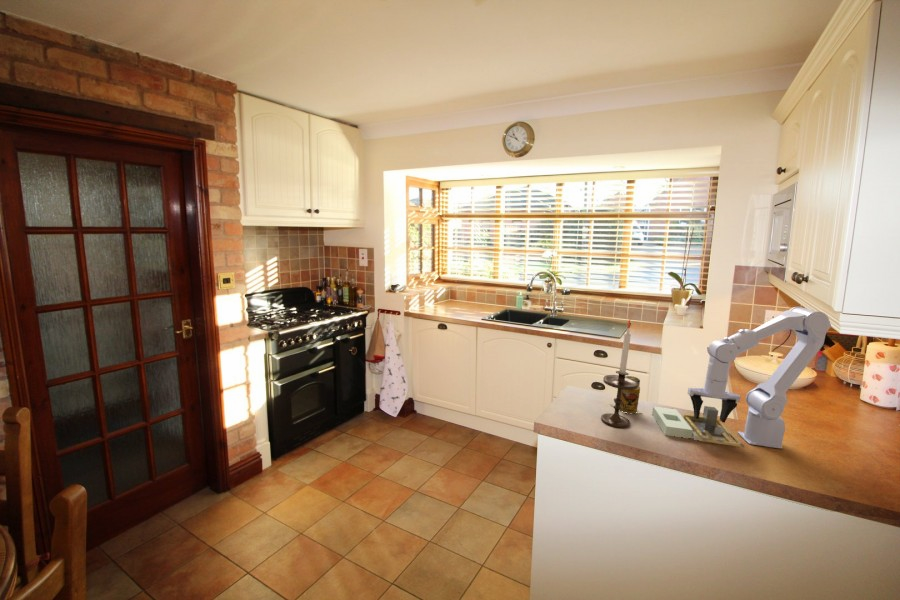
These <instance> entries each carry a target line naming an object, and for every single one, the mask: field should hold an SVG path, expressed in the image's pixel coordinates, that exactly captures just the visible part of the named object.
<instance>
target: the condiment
mask: <svg viewBox="0 0 900 600" xmlns="http://www.w3.org/2000/svg"><path fill="white" fill-rule="evenodd" d="M625 377H628V378H631V379H634V380H636V381H637V382H638V383H639V387H638V389H635V390H624V389H622V394H621V399H622V400H623V402H622V404H620V407H621V409H620V410H621V411H623V412H627V414H626V415H629V414H628V413H635V415H636V412H637V414H643V411H640V410H639V409H638V406H639V399H640V391H641V387H640V382H641V380H640V378H638V377H636V376H630V375H625ZM610 406H612V407H613V406H615V403H614V404H610ZM620 410H619V412H621V411H620ZM623 412H622V413H623ZM638 412H639V413H638Z"/></svg>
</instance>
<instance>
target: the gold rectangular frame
mask: <svg viewBox="0 0 900 600" xmlns="http://www.w3.org/2000/svg"><path fill="white" fill-rule="evenodd" d="M682 417H683V418H684V420H685V421H687V422H688V423H689V424H690V426H691V427H692V428H693V429H694V431H695V432H696V433H697V434H698V436H699V437H700V438H701V439H702V441H701V442H703V443H704V442H706V443H713V444H719V445H724V446H725V445H726V446H731V447H733V446H734V447H739V448H740V447H741V448H745V444H744V443H743V442H742V441H741V440H740V439H739V438H738V437H737V436H736V435H735V434H734V433H733V432H732V431H731V430H730V429H729V428H728V427H727V426H726V425H725V424H724V422H722V421H721V420H720V417H717V422H716V425H719V426H720V427H722V428H723V429H724V430H725V431H726V432H727V433H728V434H729V437H730V438H731V439H732V440H733V441H734V442H733V441H732V440H731V439H730V438H729V437H728V436H727V435H726V434H725V433H721V435H722V436H723V437H724V438H725V439H726V441H721V440H715V439H714V438H713V437H712V436H711V435H710V433H709V432H708V431H706V430H704V431H703V432H704V433H705V435H706V436H707V437H708V438H709V439H707V438H705V437H704V436H703V434H702V433H701V432H700V431H699V430H698V428H697V427H696V426H695V425H694V424H693V422H692V421H695V422H702V417H703V415H699V419H696V418H695V417H694V414H687V413H683V416H682Z"/></svg>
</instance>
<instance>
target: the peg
mask: <svg viewBox="0 0 900 600" xmlns="http://www.w3.org/2000/svg"><path fill="white" fill-rule="evenodd" d="M718 415H719V410H718V409H717V408H716V407H714V406H707V405H704V407H703V411H702V416H703V417H702V422H695V421H692V422H693V424H694V425H695V426H696V427H697V428H698V430H699V431H700V432H701V433H702V434H705V433H704V432H703V431H704V430H706V431H708V432H709V433H710V435H714V436H721V437H723V436H722V435H721V433H724V432H723V431H722V430H721V429H720V428H719V427H718V426H717V425H716V422H717V418H718Z"/></svg>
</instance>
